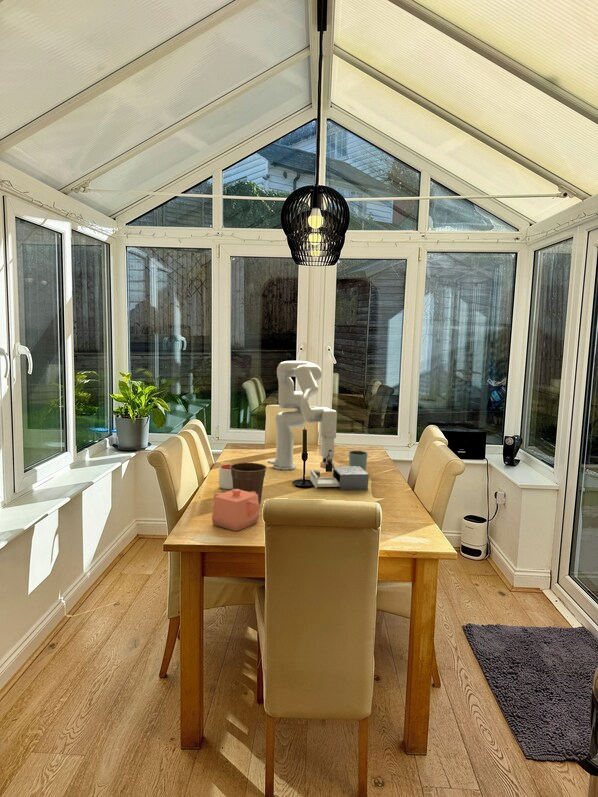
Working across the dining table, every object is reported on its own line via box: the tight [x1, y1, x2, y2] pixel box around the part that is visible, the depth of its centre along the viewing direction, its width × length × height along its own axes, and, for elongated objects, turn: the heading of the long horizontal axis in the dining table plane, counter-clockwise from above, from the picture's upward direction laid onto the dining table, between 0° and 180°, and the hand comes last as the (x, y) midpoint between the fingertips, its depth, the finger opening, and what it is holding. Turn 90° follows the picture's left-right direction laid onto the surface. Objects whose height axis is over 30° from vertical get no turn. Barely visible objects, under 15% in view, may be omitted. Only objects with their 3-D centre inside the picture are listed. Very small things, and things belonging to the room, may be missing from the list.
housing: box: [332, 465, 370, 491], centre depth 273 cm, size 14×16×8 cm
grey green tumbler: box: [348, 450, 368, 472], centre depth 296 cm, size 10×10×12 cm
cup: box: [218, 464, 233, 490], centre depth 263 cm, size 10×10×10 cm
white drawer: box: [309, 468, 340, 489], centre depth 271 cm, size 13×15×6 cm
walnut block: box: [312, 469, 321, 478], centre depth 283 cm, size 4×4×4 cm
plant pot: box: [230, 462, 268, 505], centre depth 241 cm, size 16×16×16 cm
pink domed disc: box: [319, 461, 335, 470], centre depth 270 cm, size 7×7×2 cm
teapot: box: [211, 489, 260, 532], centre depth 216 cm, size 20×22×14 cm
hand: (327, 469), depth 270 cm, fingers closed on pink domed disc, 7 cm apart
